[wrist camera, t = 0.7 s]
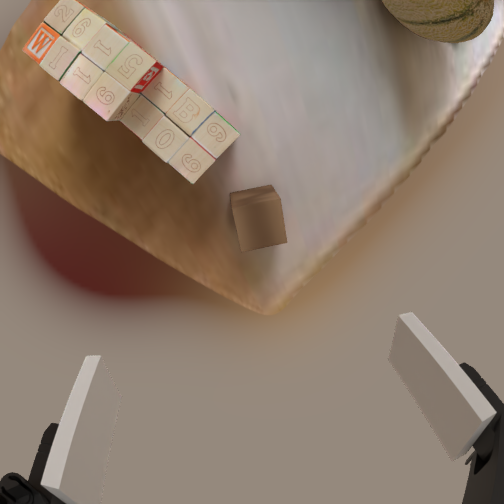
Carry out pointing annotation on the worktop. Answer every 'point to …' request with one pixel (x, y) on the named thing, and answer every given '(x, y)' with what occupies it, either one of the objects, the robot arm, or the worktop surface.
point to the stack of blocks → (129, 87)
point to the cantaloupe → (443, 17)
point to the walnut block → (258, 218)
